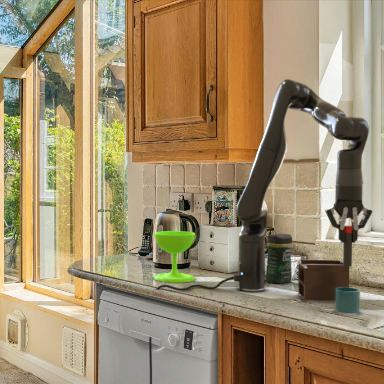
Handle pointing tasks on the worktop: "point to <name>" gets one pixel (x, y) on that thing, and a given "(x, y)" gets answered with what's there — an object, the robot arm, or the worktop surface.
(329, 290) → the dark wooden crate
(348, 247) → the marker
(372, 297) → the worktop surface
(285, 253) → the coffee jar
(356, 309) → the pen cup
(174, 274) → the wineglass
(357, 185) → the robot arm
